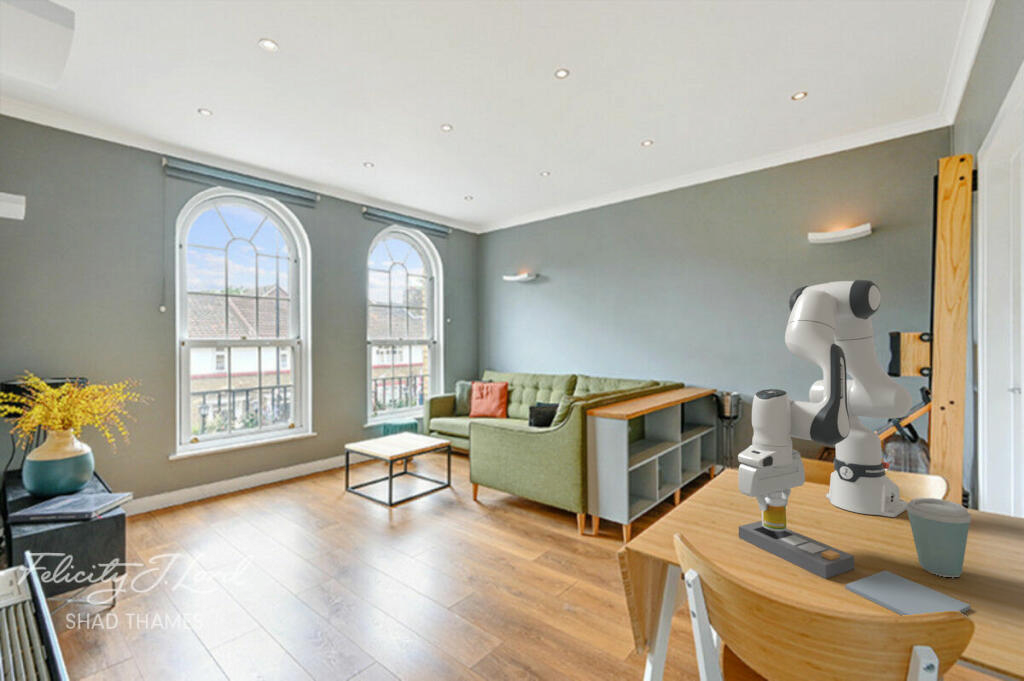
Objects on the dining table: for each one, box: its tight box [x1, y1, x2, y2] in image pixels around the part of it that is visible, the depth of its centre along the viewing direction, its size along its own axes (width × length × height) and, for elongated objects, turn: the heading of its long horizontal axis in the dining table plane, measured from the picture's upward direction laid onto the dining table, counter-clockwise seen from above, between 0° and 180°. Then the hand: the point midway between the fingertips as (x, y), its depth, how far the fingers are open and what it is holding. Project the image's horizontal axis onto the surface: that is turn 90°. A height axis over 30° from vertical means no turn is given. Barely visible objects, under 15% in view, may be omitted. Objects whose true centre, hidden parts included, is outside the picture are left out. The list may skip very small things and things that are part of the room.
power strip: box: [738, 520, 855, 580], centre depth 108 cm, size 10×22×4 cm, turn 23°
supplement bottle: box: [761, 491, 787, 532], centre depth 113 cm, size 5×5×10 cm
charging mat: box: [845, 569, 971, 616], centre depth 88 cm, size 14×14×1 cm
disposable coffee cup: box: [905, 497, 973, 579], centre depth 98 cm, size 11×11×15 cm
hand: (773, 507), depth 113 cm, fingers closed on supplement bottle, 5 cm apart
